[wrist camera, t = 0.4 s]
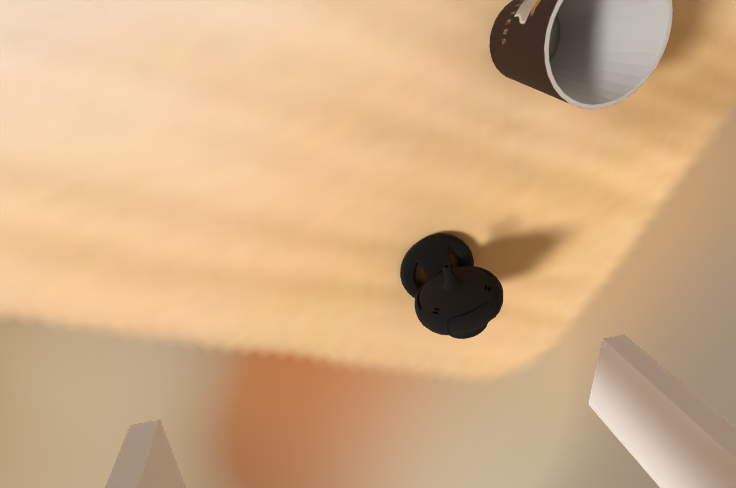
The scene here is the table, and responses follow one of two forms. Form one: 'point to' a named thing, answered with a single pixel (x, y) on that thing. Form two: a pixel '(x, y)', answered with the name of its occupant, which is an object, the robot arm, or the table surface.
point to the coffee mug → (581, 46)
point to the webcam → (450, 288)
